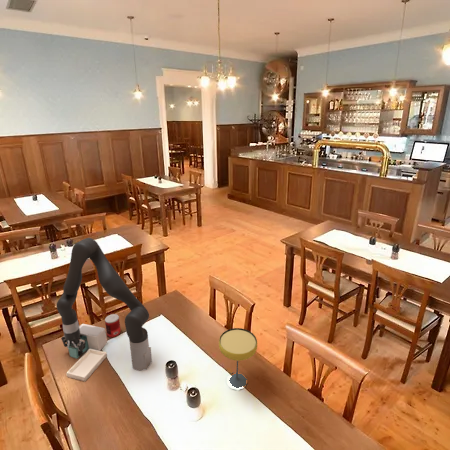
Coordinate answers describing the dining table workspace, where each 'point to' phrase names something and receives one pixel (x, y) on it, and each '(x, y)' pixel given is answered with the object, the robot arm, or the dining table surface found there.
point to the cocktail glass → (238, 350)
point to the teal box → (73, 350)
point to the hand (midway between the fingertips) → (76, 353)
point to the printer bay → (94, 336)
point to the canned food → (112, 325)
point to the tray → (86, 365)
